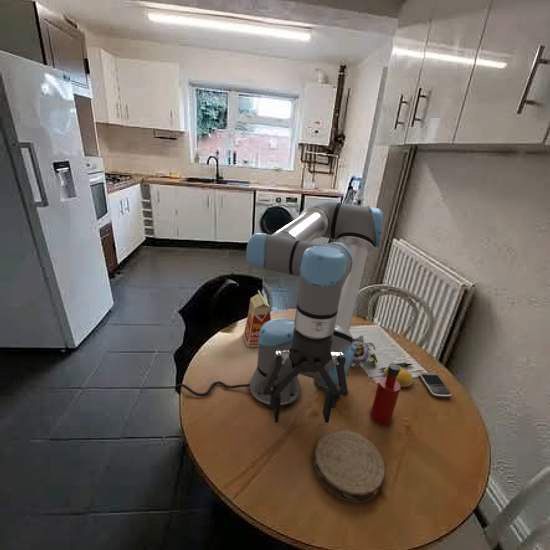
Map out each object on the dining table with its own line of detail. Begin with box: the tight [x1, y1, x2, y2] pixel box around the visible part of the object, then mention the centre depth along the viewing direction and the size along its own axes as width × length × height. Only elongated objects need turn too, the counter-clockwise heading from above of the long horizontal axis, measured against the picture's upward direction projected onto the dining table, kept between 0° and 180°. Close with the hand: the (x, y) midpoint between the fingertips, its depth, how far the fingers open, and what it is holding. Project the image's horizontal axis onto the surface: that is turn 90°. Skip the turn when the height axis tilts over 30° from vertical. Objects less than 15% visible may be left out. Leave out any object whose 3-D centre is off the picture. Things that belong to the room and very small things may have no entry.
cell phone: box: [418, 372, 452, 398], centre depth 102 cm, size 6×11×1 cm, turn 1°
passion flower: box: [350, 334, 378, 368], centre depth 110 cm, size 11×11×12 cm
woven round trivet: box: [313, 429, 385, 503], centre depth 73 cm, size 16×16×3 cm
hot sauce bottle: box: [370, 362, 402, 426], centre depth 85 cm, size 6×6×18 cm
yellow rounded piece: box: [383, 364, 414, 388], centre depth 104 cm, size 8×9×4 cm
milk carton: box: [242, 289, 272, 348], centre depth 115 cm, size 9×9×20 cm
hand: (301, 417), depth 66 cm, fingers open, 10 cm apart
